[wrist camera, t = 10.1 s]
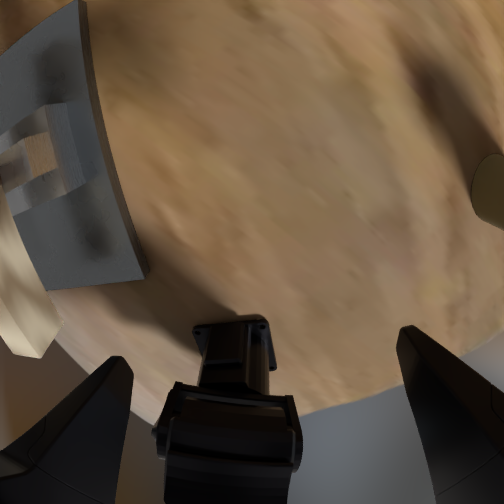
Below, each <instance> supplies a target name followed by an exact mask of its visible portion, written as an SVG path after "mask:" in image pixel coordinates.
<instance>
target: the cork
mask: <svg viewBox="0 0 504 504" xmlns="http://www.w3.org/2000/svg"><path fill="white" fill-rule="evenodd" d="M471 199H472V205H473V208H474V211H475V213H476V215H477V216H478V217H479V218H480V219H481V220H483V221H485V222H487V223H490V224H492V225H494V226H496V227H498V228H500V229H502V230H504V157H503V156H501V155H500V154H491V155H489V156H487V157H486V158H485V159H484V160H483V161H482V162H481V163H480V164H479V166H478V168H477V170H476V172H475V174H474V179H473V183H472V191H471Z"/></svg>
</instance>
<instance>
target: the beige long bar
mask: <svg viewBox="0 0 504 504" xmlns="http://www.w3.org/2000/svg"><path fill="white" fill-rule="evenodd" d="M2 184H3V183H2V179H1V176H0V335H1V337H2V338H3V340H4V341H5V342H6V344H7V345H8V347H9V348H10V349H11V351H12V352H13V353H14V354H17V355H23V356H29V357H35V358H41V357H42V356H43V354H44V352H45V351H46V349H47V348H48V346H49V345H50V343H51V342H52V340H53V339H54V337H55V336H56V334H57V333H58V331H59V330H60V329H61V327H62V326H63V324H64V322H63V320H62V318H61V317H60V315H59V313H58V312H57V310H56V308H55V306H54V305H53V303H52V301H51V299H50V298H49V296H48V294H47V292H46V290H45V288H44V286H43V285H42V283H41V281H40V279H39V277H38V275H37V273H36V271H35V269H34V267H33V264H32V262H31V260H30V258H29V256H28V254H27V251H26V249H25V247H24V244H23V242H22V240H21V237H20V235H19V232H18V230H17V227H16V225H15V222H14V219H13V217H12V214H11V211H10V208H9V205H8V202H7V199H6V196H5V193H4V190H3V186H2Z"/></svg>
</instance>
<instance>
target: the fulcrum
mask: <svg viewBox="0 0 504 504" xmlns="http://www.w3.org/2000/svg"><path fill="white" fill-rule="evenodd" d="M0 176H1V179H2V183H3V184H2V186H3V190H4V193H5V196H6V199H7V202H8V205H9V208H10V211H11V214H12V217H13V219H14V222H15V225H16V227H17V230H18V232H19V235H20V237H21V240H22V242H23V244H24V247H25V249H26V251H27V254H28V256H29V258H30V260H31V262H32V264H33V267H34V269H35V271H36V273H37V275H38V277H39V279H40V281H41V283H42V285H43V286H44V288H45V290H46V291H48V290H57V289H66V288H74V287H83V286H92V285H100V284H108V283H117V282H125V281H133V280H141V279H145V278H146V276H147V275H148V273H149V271H150V269H149V267H148V264H147V261H146V259H145V256H144V254H143V251H142V248H141V245H140V243H139V240H138V237H137V234H136V231H135V229H134V226H133V223H132V220H131V217H130V214H129V211H128V208H127V205H126V201H125V198H124V195H123V192H122V189H121V185H120V182H119V178H118V175H117V171H116V168H115V164H114V161H113V157H112V153H111V149H110V145H109V141H108V137H107V133H106V129H105V125H104V120H103V116H102V111H101V106H100V101H99V96H98V91H97V86H96V80H95V74H94V68H93V61H92V54H91V47H90V39H89V30H88V19H87V6H86V2H85V1H83V0H74V1H72V2H71V3H69V4H68V5H66V6H64V7H63V8H61V9H60V10H58V11H57V12H55V13H54V14H52V15H51V16H49V17H48V18H47V19H45V20H44V21H42V22H41V23H40V24H38V25H37V26H36V27H34V28H33V29H32V30H30V31H29V32H28V33H27V34H25V35H24V36H23V37H22V38H20V39H19V40H18V41H17V42H16V43H14V44H13V45H12V46H11V47H10V48H9V49H8V50H6V51H5V52H4V53H3V54H2V55H1V56H0Z"/></svg>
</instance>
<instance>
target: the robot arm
mask: <svg viewBox="0 0 504 504" xmlns="http://www.w3.org/2000/svg"><path fill="white" fill-rule="evenodd" d="M261 325H265V326H261ZM198 331H200V332H198ZM192 334H193V336H194V338H195V341H196V343H197V345H198V347H199V350H200V352H201V354H202V356H203V357H202V362H201V367H200V371H199V376H198V381H197V386H192V385H187V384H183V383H182V382H177V381H176V382H175V384H174V387H173V389H171V390H170V392H169V393H168V396H167V400H166V402H165V405H164V408H163V410H162V413H161V415H160V417H159V418H158V420H157V422H156V423H155V425H154V426H153V428H152V437H153V438H154V439H155V441H156V446H157V455H158V457H159V459H164V460H165V473H164V502H165V503H166V504H287V497H288V488H289V484H290V478H291V474H292V473H295V472H296V471H297V470H298V468H299V466H300V463H301V459H302V452H303V436H302V430H301V426H300V422H299V418H298V414H297V410H296V406H295V402H294V398H293V395H285V396H275V395H269V371H275V370H276V369H277V363H276V358H275V353H274V348H273V343H272V337H271V332H270V327H269V323H268V321H267V320H265V319H260V320H251V321H241V322H232V323H221V324H210V325H198V326H194V327H193V330H192ZM396 351H397V356H398V360H399V364H400V368H401V372H402V376H403V381H404V385H405V390H406V393H407V397H408V400H409V403H410V406H411V409H412V412H413V415H414V418H415V421H416V425H417V428H418V431H419V435H420V438H421V442H422V445H423V449H424V452H425V456H426V460H427V463H428V468H429V472H430V476H431V480H432V485H433V489H434V494H435V500H436V504H504V393H503V392H502V391H501V390H499V389H498V388H497V387H495V386H494V385H492V384H491V383H490V382H489V381H488V380H486V379H485V378H484V377H483V376H481V375H480V374H479V373H477V372H476V371H475V370H473V369H472V368H471V367H469V366H468V365H467V364H465V363H464V362H463V361H461V360H460V359H459V358H458V357H456V356H455V355H454V354H452V353H451V352H450V351H448V350H447V349H446V348H444V347H443V346H442V345H440V344H439V343H437V342H436V341H435V340H433V339H432V338H431V337H429V336H428V335H427V334H425V333H424V332H422V331H421V330H420V329H418V328H417V327H415V326H414V325H409V326H405V327H402V328H401V329H400V331H399V336H398V340H397V344H396ZM133 379H134V374H133V371H132V369H131V368H130V366H129V365H128V363H127V362H126V360H125V359H124V358H123V357H122V356H111V357H110V358H109V359H107V360H106V361H105V362H104V363H103V364H102V365H101V366H100V367H98V368H97V369H96V370H95V371H94V372H93V373H92V374H91V375H89V376H88V377H87V378H86V379H85V380H84V381H83V382H82V383H81V384H79V385H78V386H77V387H76V388H75V389H74V390H73V391H72V392H70V393H69V394H68V395H67V396H66V397H65V398H64V399H63V400H62V401H61V402H60V403H58V404H57V405H56V406H55V407H54V408H53V409H52V410H51V411H50V412H48V414H47V415H45V416H44V417H43V418H42V419H41V420H40V421H38V422H37V423H36V424H35V425H34V426H33V427H32V428H30V429H29V430H28V431H27V432H25V433H24V434H23V435H22V436H20V437H19V438H18V439H16V440H15V441H14V442H12V443H11V444H10V445H8V446H7V447H6V448H4V449H3V450H1V451H0V504H115V497H116V490H117V482H118V475H119V469H120V462H121V456H122V451H123V445H124V440H125V434H126V429H127V424H128V419H129V414H130V405H131V396H132V387H133Z"/></svg>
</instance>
